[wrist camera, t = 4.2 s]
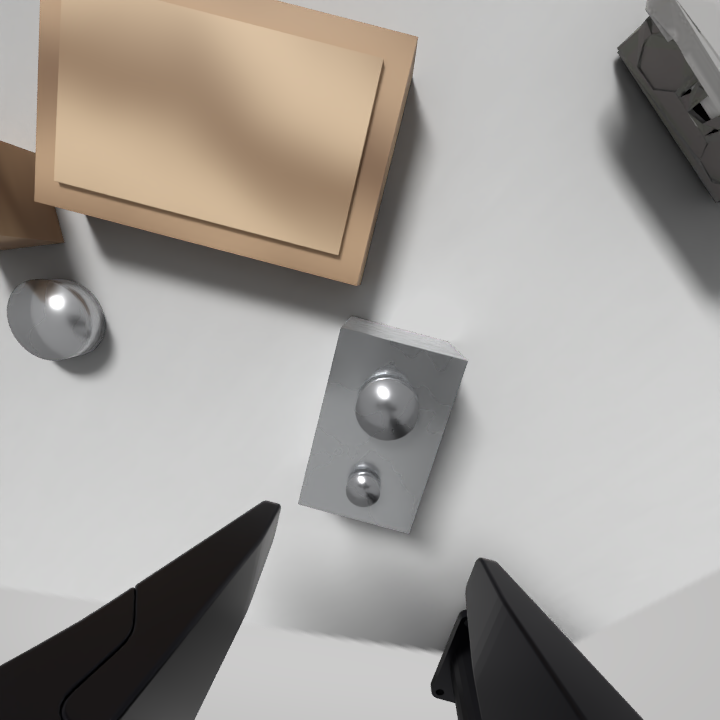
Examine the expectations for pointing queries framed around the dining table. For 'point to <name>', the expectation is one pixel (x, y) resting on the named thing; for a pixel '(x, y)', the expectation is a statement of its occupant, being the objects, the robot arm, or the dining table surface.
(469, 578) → the robot arm
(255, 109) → the tan shallow rectangular tray
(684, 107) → the electrical switch
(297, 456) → the dining table surface
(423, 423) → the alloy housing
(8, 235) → the walnut offcut
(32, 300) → the chrome dome knob
